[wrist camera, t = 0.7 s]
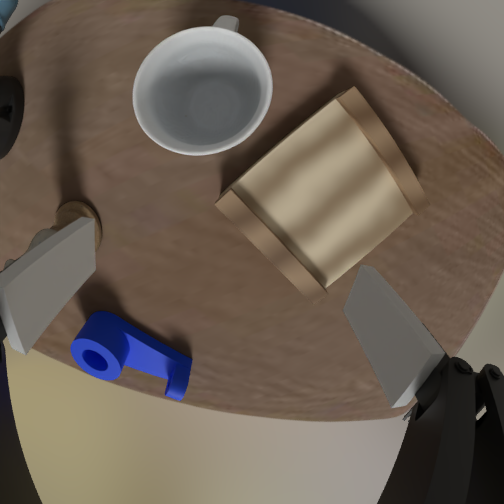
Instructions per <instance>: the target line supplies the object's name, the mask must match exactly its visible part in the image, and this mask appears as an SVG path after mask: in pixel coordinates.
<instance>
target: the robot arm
mask: <svg viewBox="0 0 504 504" xmlns="http://www.w3.org/2000/svg"><path fill="white" fill-rule="evenodd" d="M17 4H18V0H0V33H1V32H2V31H3V30H4V28H5V25H6V23H7V21H8V20H9V18H10V16H11V15H12V13H13V12H14V10H15V9H16V7H17ZM23 109H24V97H23V91H22V87H21V85H20V83H19V81H18V80H17V79H16V78H14V77H9V76H0V159H2V158H3V157H5V156H6V155H7V153H8V152H9V151H10V149H11V148H12V146H13V144H14V142H15V140H16V138H17V135H18V133H19V129H20V126H21V122H22V117H23ZM94 224H95V219H93V218H86V217H81V218H79V219H77V220H76V221H74V222H73V223H71V224H69V225H68V226H66V227H65V228H63V229H61V230H60V231H58V232H57V233H55V234H54V235H52V236H51V237H49V238H48V239H46V240H45V241H43V242H42V243H40V244H39V245H38V246H36V247H35V248H33V249H32V250H31V251H29V252H28V253H26V254H25V255H24V256H22V257H21V258H18V259H16V260H15V261H14V262H12V263H11V264H10V266H7V267H6V268H5V269H4V270H3V271H1V272H0V504H42V502H41V500H40V498H39V496H38V493H37V490H36V488H35V485H34V483H33V480H32V478H31V475H30V473H29V469H28V467H27V464H26V461H25V458H24V454H23V451H22V448H21V444H20V441H19V437H18V433H17V429H16V425H15V420H14V415H13V410H12V405H11V399H10V392H9V386H8V377H7V368H6V355H5V347H4V344H3V340H4V339H5V337H6V336H7V337H8V340H9V342H10V345H11V347H12V348H13V349H14V350H16V351H19V352H20V353H22V354H25V355H26V354H27V353H28V352H29V350H30V349H31V348H32V346H33V345H34V344H35V342H36V341H37V339H38V338H39V337H40V336H41V334H42V333H43V332H44V330H45V329H46V328H47V326H48V325H49V324H50V323H51V321H52V320H53V319H54V318H55V316H56V315H57V314H58V313H59V312H60V310H61V309H62V308H63V307H64V306H65V304H66V303H67V302H68V301H69V300H70V298H71V297H72V296H73V295H74V294H75V293H76V292H77V290H78V289H79V288H80V287H81V286H82V285H83V284H84V282H85V281H86V280H87V279H88V278H89V277H90V276H91V275H92V274H93V273H94V272H95V270H96V263H95V228H94ZM343 312H344V314H345V316H346V317H347V319H348V321H349V323H350V325H351V327H352V329H353V331H354V333H355V334H356V336H357V338H358V340H359V342H360V344H361V346H362V348H363V350H364V352H365V354H366V356H367V358H368V360H369V362H370V364H371V366H372V368H373V370H374V372H375V374H376V376H377V378H378V380H379V382H380V384H381V386H382V389H383V391H384V393H385V395H386V397H387V399H388V401H389V403H390V406H391V408H394V407H400V406H406V405H407V404H408V403H409V401H410V400H411V399H412V398H413V397H414V395H415V396H416V398H417V400H418V401H417V403H416V404H415V405H414V406H413V407H412V408H411V410H410V411H409V412H408V413H407V414H406V415H405V416H404V418H403V420H404V421H405V420H406V418H407V417H409V416H410V420H409V421H408V422H409V423H408V427H407V430H406V433H405V436H404V440H403V442H402V445H401V448H400V451H399V454H398V456H397V459H396V462H395V464H394V467H393V469H392V472H391V474H390V476H389V479H388V481H387V484H386V486H385V488H384V490H383V492H382V494H381V496H380V499H379V501H378V503H377V504H504V376H503V374H502V372H501V371H500V369H499V368H498V367H497V366H495V365H492V364H486V365H485V366H484V367H483V369H482V370H481V371H480V373H476V372H473V369H472V368H471V366H470V365H469V364H468V363H467V362H466V361H464V360H463V359H461V358H458V357H452V358H450V357H449V356H448V355H447V353H446V352H445V351H444V350H443V348H442V347H441V346H440V344H439V343H438V342H437V340H436V339H434V337H433V335H432V334H431V333H429V330H428V329H427V328H426V327H425V325H424V324H423V323H422V322H421V321H420V320H419V319H418V318H417V316H416V315H415V314H414V313H413V312H412V310H411V309H410V308H409V307H408V306H407V305H406V303H405V302H404V301H403V300H402V299H401V297H400V296H399V295H398V294H397V293H396V292H395V291H394V289H393V288H392V287H391V286H390V285H389V284H388V283H387V282H386V280H385V279H384V278H383V277H382V276H381V275H380V274H379V273H378V272H377V270H376V269H375V268H374V267H371V266H366V265H361V266H360V268H359V271H358V274H357V276H356V279H355V282H354V284H353V287H352V289H351V292H350V294H349V297H348V299H347V301H346V304H345V306H344V309H343ZM484 406H486V410H487V411H486V412H485V413H484V415H483V416H482V417H481V418H480V419H479V420H477V419H476V415H477V414H478V413H479V412H480V411H481V410H482V409H483V408H484Z"/></svg>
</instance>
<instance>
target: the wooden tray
mask: <svg viewBox="0 0 504 504" xmlns="http://www.w3.org/2000/svg"><path fill="white" fill-rule="evenodd" d="M215 206H216V207H217V208H218V209H219V210H220V211H221V212H222V213H223V214H224V215H225V216H226V217H227V218H228V219H229V220H230V221H231V222H232V223H233V224H234V225H235V226H236V227H237V228H238V229H239V230H240V231H241V232H242V233H243V234H244V235H245V236H246V237H247V238H248V239H249V240H250V241H251V242H252V243H253V244H254V245H255V246H256V247H257V248H258V249H259V250H260V251H261V252H262V253H263V254H264V255H265V256H266V257H267V258H268V259H269V260H270V261H271V262H272V263H273V264H274V265H275V266H276V267H277V268H278V269H279V270H280V271H281V272H282V273H283V274H284V275H285V276H286V277H287V278H288V279H289V280H290V281H291V282H292V284H293V285H294V286H295V287H296V288H297V289H298V290H299V291H300V292H301V293H302V294H303V295H304V296H305V297H306V298H307V299H308V300H309V301H310V302H311V303H312V304H313V305H315V304H316V303H317V302H319V301H320V300H321V299H323V298H324V297H325V296H327V295H328V293H327V291H326V289H325V288H326V287H328V286H329V285H330V284H331V283H333V282H334V281H335V280H336V279H338V278H339V277H340V276H341V275H343V274H344V273H345V272H346V271H347V270H349V269H350V268H351V267H352V266H353V265H355V264H356V263H357V262H358V261H359V260H361V259H362V258H363V257H364V256H365V255H366V254H368V253H369V252H370V251H371V250H372V249H373V248H375V247H376V246H377V245H378V244H379V243H380V242H381V241H383V240H384V239H385V238H386V237H387V236H388V235H389V234H390V233H392V232H393V231H394V230H395V229H396V228H397V227H398V226H399V225H400V224H401V223H403V222H404V221H405V220H406V219H407V218H408V217H409V216H410V215H411V214H412V213H414V214H416V215H418V216H419V215H420V214H421V213H422V212H423V211H424V210H425V209H427V208H428V207H429V206H430V203H429V201H428V199H427V197H426V195H425V193H424V191H423V189H422V188H421V186H420V184H419V182H418V180H417V178H416V176H415V175H414V173H413V171H412V169H411V168H410V166H409V164H408V162H407V161H406V159H405V157H404V156H403V154H402V152H401V151H400V149H399V148H398V146H397V144H396V143H395V141H394V140H393V138H392V137H391V135H390V134H389V132H388V131H387V129H386V128H385V126H384V125H383V123H382V122H381V120H380V119H379V118H378V116H377V115H376V113H375V112H374V111H373V109H372V108H371V107H370V105H369V104H368V103H367V101H366V100H365V99H364V97H363V96H362V95H361V94H360V92H359V91H358V90H357V89H356V87H355V86H353V87H351V88H349V89H348V90H346V91H343V92H341V93H339V94H337V95H336V96H335V97H333V98H332V99H331V100H330V101H328V102H327V103H326V104H324V105H323V106H322V107H321V108H319V109H318V110H317V111H316V112H314V113H313V114H312V115H311V116H309V117H308V118H307V119H306V120H304V121H303V122H302V123H301V124H300V125H298V126H297V127H296V128H295V129H293V130H292V131H291V132H290V133H289V134H287V135H286V136H285V137H284V138H283V139H282V140H280V141H279V142H278V143H277V144H276V145H275V146H273V147H272V148H271V149H270V150H269V151H268V152H266V153H265V154H264V155H263V156H262V157H261V158H260V159H258V160H257V161H256V162H255V163H254V164H253V165H252V166H251V167H249V168H248V169H247V170H246V171H245V172H244V173H243V174H242V175H241V176H240V177H238V178H237V179H236V180H235V181H234V182H233V183H232V184H231V185H230V186H229V187H228V188H227V189H225V190H224V191H223V192H222V193H221V194H220V196H219V199H218V200H217V201H216V202H215Z"/></svg>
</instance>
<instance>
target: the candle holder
mask: <svg viewBox="0 0 504 504" xmlns="http://www.w3.org/2000/svg"><path fill="white" fill-rule="evenodd" d="M81 217H86V218H93V219H95V224H94V228H95V252H96V251H97V250H98V248H99V246H100V243H101V239H102V229H101V224H100V221H99V219H98V217H97V215H96V213H95V212H94V211H93V210H92V208H90V207H89V206H88V205H87V204H85V203H83V202H80V201H71V202H68V203H66V204H64V205H63V206H61V207H60V208H59V210H58V211H57V213H56V215H55V219H54V226H52V227H51V228H50V229H43V230H41V231H39V232H38V233H37V234H36V235H35V236H34V238H33V239H32V241H31V243H30V245H29V248H28V249H27V251H26V252H25V253H24V254H23V255H22V256H24V255H25V254H26V253H28V252H29V251H31V250H32V249H33V248H35V247H36V246H38V245H39V244H40V243H42V242H43V241H45V240H46V239H48V238H49V237H51V236H52V235H54V234H55V233H57V232H58V231H60V230H61V229H63V228H65V227H66V226H68V225H69V224H71V223H73V222H74V221H76V220H77V219H79V218H81ZM22 256H21V257H22ZM21 257H20V258H21ZM14 261H15V260H13V259H9V260H7V261H6V263H5V266H4V269H5V268H6V267H7V266H10V264H11V263H12V262H14ZM4 269H3V270H4Z"/></svg>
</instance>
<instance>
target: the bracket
mask: <svg viewBox="0 0 504 504" xmlns="http://www.w3.org/2000/svg"><path fill="white" fill-rule="evenodd" d="M71 353H72V356H73V358H74V360H75V361H76V362H77V364H78V365H79V366H80V367H81V368H82V369H83V370H85V371H86V372H87V373H89V374H90V375H92V376H94V377H96V378H99V379H103V380H114V379H116V378H118V377H119V375H120V373H121V371H122V368H123V366H124V365H126V366H129V367H131V368H134V369H137V370H140V371H143V372H146V373H149V374H152V375H155V376H158V377H161V378H165V379H168V382H167V386H166V390H165V395H166V396H168V397H171V398H174V399H176V400H179V401H181V399H182V398H183V396H184V394H185V392H186V389H187V386H188V382H189V376H190V370H191V365H192V359H191V358H189V357H187V356H185V355H183V354H181V353H179V352H177V351H175V350H174V349H172V348H170V347H168V346H166V345H165V344H163V343H161V342H159V341H158V340H156V339H154V338H152V337H151V336H149V335H147V334H146V333H144V332H142V331H141V330H139V329H137V328H136V327H134V326H132V325H131V324H129V323H128V322H126V321H124V320H123V319H121V318H120V317H118V316H117V315H115V314H113V313H110V312H106V311H98V312H95V313H93V314H92V315H91V316H90V317H89V319H88V320H87V322H86V323H85V325H84V326H83V327H82V329H81V330H80V332H79V333H78V335H77V336H76V338H75V339H74V341H73V342H72V344H71Z"/></svg>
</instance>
